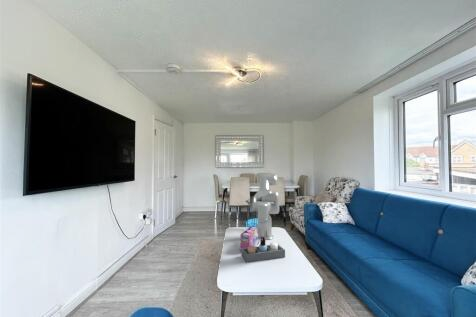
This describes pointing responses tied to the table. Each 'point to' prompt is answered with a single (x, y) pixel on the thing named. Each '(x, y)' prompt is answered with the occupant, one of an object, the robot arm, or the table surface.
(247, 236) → the gum box
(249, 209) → the geometric lantern
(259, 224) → the robot arm
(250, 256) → the gray compartment tray
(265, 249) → the pale blue rounded piece
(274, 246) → the white rounded piece
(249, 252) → the peach rounded egg shape
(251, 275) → the table surface
